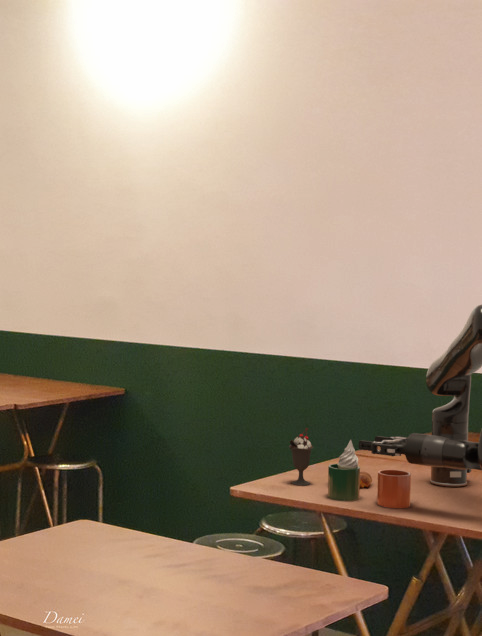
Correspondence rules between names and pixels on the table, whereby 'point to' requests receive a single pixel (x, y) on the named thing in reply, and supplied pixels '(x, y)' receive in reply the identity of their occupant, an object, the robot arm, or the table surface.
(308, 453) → the sundae
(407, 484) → the cup
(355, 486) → the stand
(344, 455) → the ice cream cone
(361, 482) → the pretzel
